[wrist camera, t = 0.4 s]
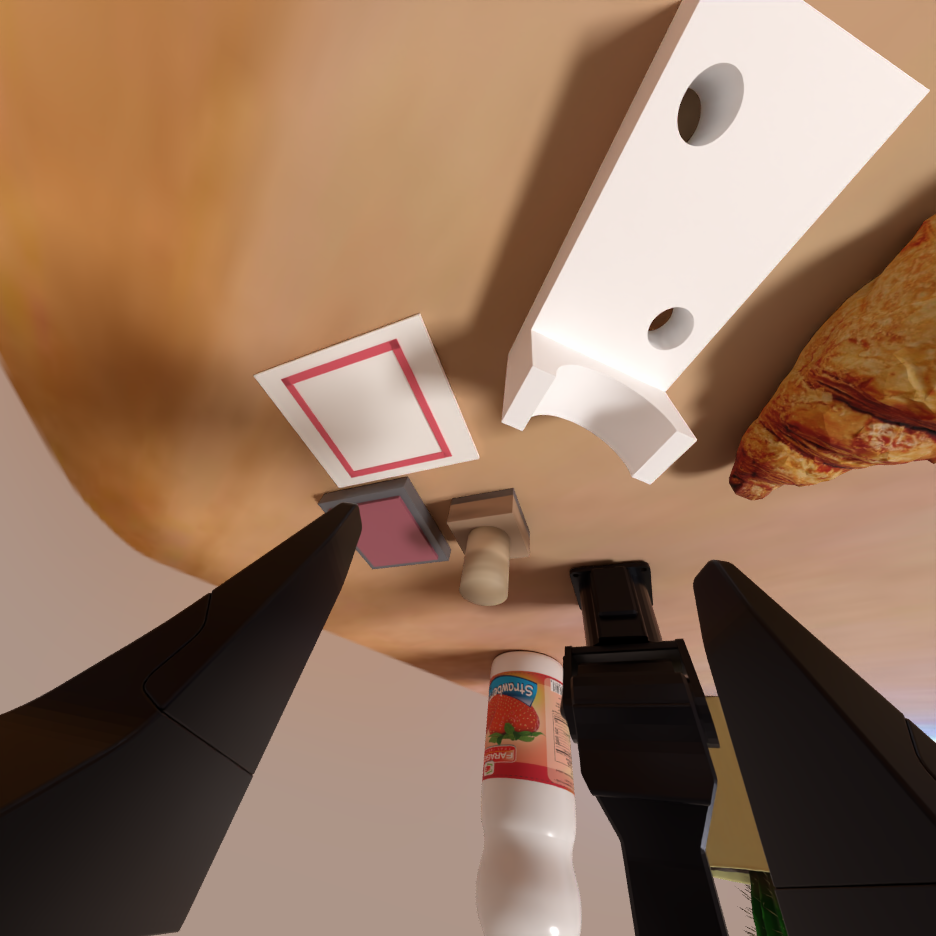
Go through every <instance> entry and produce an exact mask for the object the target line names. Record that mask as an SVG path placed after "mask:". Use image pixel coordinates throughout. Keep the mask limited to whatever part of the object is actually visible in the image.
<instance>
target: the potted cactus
mask: <svg viewBox="0 0 936 936" xmlns="http://www.w3.org/2000/svg"><path fill="white" fill-rule="evenodd" d="M705 698H706V701H707V704H708V707H709V710H710V713H711V716H712V719H713V722H714V726H715V729H716V732H717V736H718V740H719V744H720V748H708V749H709V752H710V756H711V759H712V762H713V765H714V768H715V772H716V775H717V780H718V782H717V791H716V796H715V802H714V807H713V812H712V818H711V823H710V828H709V834H708V839H707V844H706V853H707V857H708V860H709V864H710V868H711V872H712V875H713V877H716V878H720V879H725V880H729V881H734V882H739V883H744V884H750V885H751V889H750V888H749V889H750V890H751V892H750V893H751V903H752V913H753V919H754V922H755V926H756V932H757V936H788V934H787V930H786V927H785V924H784V920H783V917H782V913H781V910H780V907H779V903H778V900H777V896H776V893H775V888H776V887H775V886H774V885H773V882H772V878H771V875H770V871H769V868H768V864H767V861H766V858H765V854H764V851H763V847H762V844H761V840H760V837H759V834H758V830H757V827H756V823H755V820H754V817H753V813H752V810H751V806H750V803H749V799H748V796H747V793H746V789H745V786H744V782H743V779H742V775H741V772H740V769H739V765H738V762H737V758H736V755H735V751H734V748H733V745H732V741H731V738H730V734H729V731H728V728H727V724H726V721H725V717H724V714H723V710H722V707H721V704H720V700H719V697H705ZM743 893H744V892H743ZM742 910H743V909H742ZM744 911H745V910H744ZM745 912H746V911H745ZM747 928H748V927H747ZM749 929H750V928H749ZM753 931H754V930H753ZM748 933H750V932H748ZM750 934H752V933H750ZM752 936H754V935H752Z"/></svg>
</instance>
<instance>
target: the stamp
mask: <svg viewBox="0 0 936 936" xmlns="http://www.w3.org/2000/svg"><path fill="white" fill-rule="evenodd" d="M447 524H448V526H449V528H450V530H451V532H452V533H453V535H454V537H455V539H456V540H457V542H458V544H459V546H460V547H461V549H462V551H463V553H464V555H465V559H464V565H463V571H462V576H461V582H460V588H459V591H460V594H461V595H462V597H463V598H464V599H466V600H467V601H469V602H471V603H474V604H477V605H483V606H494V605H498V604H501V603H503V602H504V601H505V600H506V599H507V597H508V580H509V559H513V558H523V557H530V531H529V529H528V526H527V523H526V521H525V518H524V515H523V513H522V510H521V507H520V504H519V502H518V499H517V496H516V494H515V491H514V488H511V489H505V490H499V491H493V492H488V493H482V494H476V495H470V496H465V497H459V498H453V499H452V502H451V506H450V510H449V514H448V518H447Z"/></svg>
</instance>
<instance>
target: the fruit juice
mask: <svg viewBox="0 0 936 936" xmlns="http://www.w3.org/2000/svg"><path fill="white" fill-rule="evenodd" d="M562 691H563V667H562V666H561V664H560V663H559V662H558V661H556V660H555V659H553V658H551V657H549V656H546V655H543V654H540V653H535V652H528V651H513V652H507V653H503V654H501V655H499V656H497V657H496V658H495V659H494V661H493V663H492V667H491V673H490V687H489V701H488V713H487V727H486V741H485V754H484V767H483V780H482V791H481V820H482V825H483V830H484V840H485V841H484V850H483V854H482V858H481V861H480V865H479V869H478V874H477V881H476V905H477V912H478V917H479V920H480V924H481V927H482V930H483V933H484V936H580V932H581V923H582V916H581V915H582V914H581V898H580V893H579V888H578V884H577V880H576V875H575V871H574V867H573V859H572V851H573V845H574V842H575V836H576V808H575V795H574V784H573V771H572V758H571V745H570V732H569V728H568V725H567V722H566V720H565V719H564V718H563V717H562V716H561V713H560V704H561V698H562Z"/></svg>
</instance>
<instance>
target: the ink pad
mask: <svg viewBox="0 0 936 936" xmlns="http://www.w3.org/2000/svg"><path fill="white" fill-rule="evenodd" d="M341 502H349V503H355V504H357V505H358V506H359V510H360V515H361V521H362V531H361V535H360V538H359V541H358V543H357V546H356V550H357V551H358V552H359V554H360V555H361V556H362V557H363V558H364V560H365V561H366V562H367V563H368V564H369V565H370V567H371V568H372V569H379V568H388V567H397V566H406V565H415V564H424V563H433V562H441V561H449V557H450V553H451V549H450V547H449V545H448V544H447V542H446V540H445V539H444V537H443V535H442V533H441V532H440V530H439V528H438V527H437V525H436V523H435V522H434V520H433V518H432V517H431V515H430V513H429V512H428V510H427V508H426V506H425V505H424V503H423V501H422V500H421V498H420V496H419V495H418V493H417V491H416V490H415V488H414V486H413V484H412V483H411V481H410V479H409V478H408V477H404V478H399V479H394V480H390V481H385V482H380V483H375V484H370V485H365V486H360V487H355V488H350V489H346V490H341V491H336V492H331V493H326V494H324V495H323V497H322V498H321V500H320V501H319V503H318V505H319V506H320V507H321V508H322V510H323V511H324V512H325V513H326V512H328V511H329V510H331V509H332V508H333V507H335V506H336V505H338V504H339V503H341Z"/></svg>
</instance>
